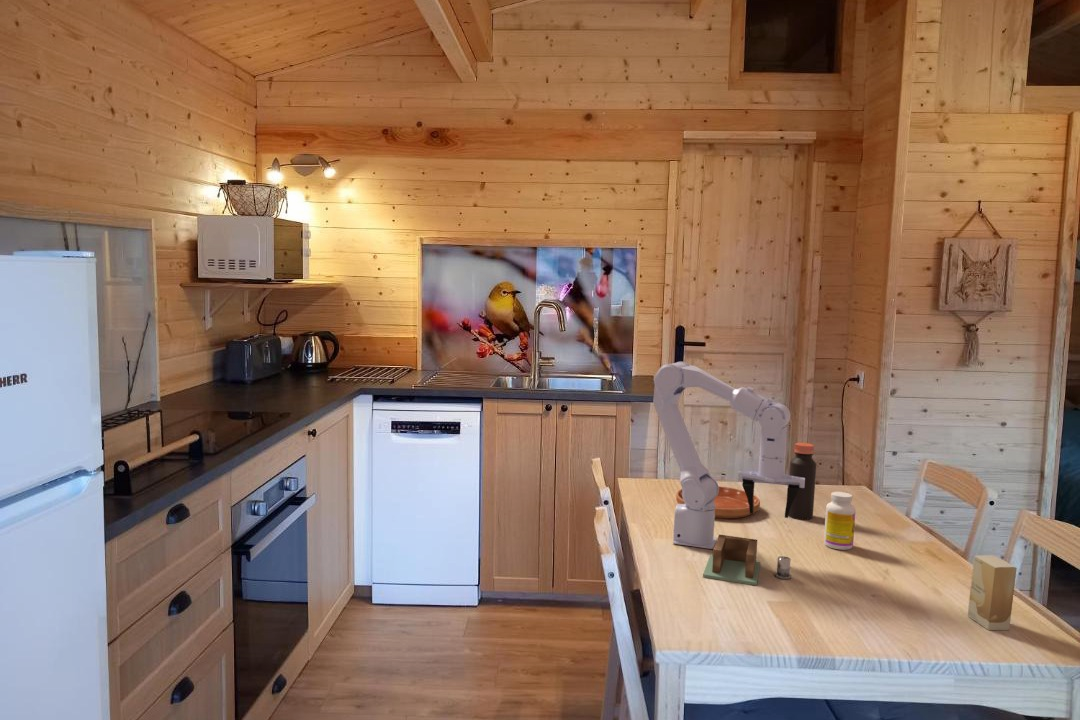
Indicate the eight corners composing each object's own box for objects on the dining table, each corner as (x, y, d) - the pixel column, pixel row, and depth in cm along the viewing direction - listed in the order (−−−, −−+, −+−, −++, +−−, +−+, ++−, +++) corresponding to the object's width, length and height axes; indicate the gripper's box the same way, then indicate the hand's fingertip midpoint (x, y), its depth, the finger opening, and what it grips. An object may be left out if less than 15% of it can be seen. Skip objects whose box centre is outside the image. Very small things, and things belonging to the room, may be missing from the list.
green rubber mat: (702, 577, 159) (702, 574, 159) (710, 557, 171) (710, 554, 171) (756, 585, 155) (756, 582, 155) (760, 564, 167) (760, 561, 167)
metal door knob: (774, 578, 159) (775, 559, 159) (774, 572, 163) (776, 554, 162) (791, 580, 158) (792, 562, 158) (791, 574, 162) (792, 557, 161)
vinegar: (815, 515, 206) (820, 444, 204) (809, 521, 200) (814, 448, 198) (790, 511, 210) (794, 440, 208) (783, 516, 204) (788, 444, 202)
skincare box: (966, 616, 143) (971, 554, 142) (987, 615, 144) (993, 554, 142) (989, 631, 137) (995, 566, 136) (1011, 631, 137) (1017, 566, 136)
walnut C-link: (712, 572, 160) (713, 549, 160) (717, 555, 170) (719, 534, 170) (752, 578, 157) (754, 555, 157) (756, 561, 167) (757, 539, 167)
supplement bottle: (855, 552, 177) (859, 499, 176) (826, 549, 179) (829, 496, 178) (849, 542, 184) (853, 491, 183) (821, 540, 185) (824, 489, 184)
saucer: (759, 525, 196) (760, 512, 196) (671, 515, 203) (672, 502, 202) (759, 502, 218) (760, 490, 218) (680, 494, 225) (680, 482, 224)
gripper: (738, 456, 169) (734, 515, 170) (806, 463, 164) (802, 523, 166) (740, 450, 176) (737, 506, 177) (806, 456, 171) (802, 514, 172)
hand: (768, 514), depth 172 cm, fingers open, 7 cm apart
